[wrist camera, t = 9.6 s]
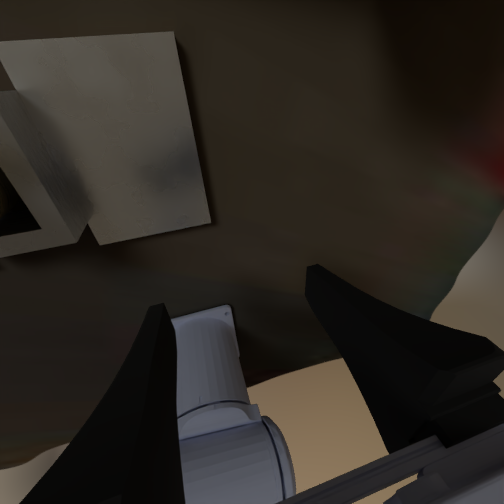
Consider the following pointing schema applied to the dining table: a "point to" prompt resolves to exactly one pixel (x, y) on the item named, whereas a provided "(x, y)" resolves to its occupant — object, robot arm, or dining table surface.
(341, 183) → the dining table surface
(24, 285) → the dining table surface
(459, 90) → the dining table surface
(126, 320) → the dining table surface
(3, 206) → the hinge pin
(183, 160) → the hinge base
